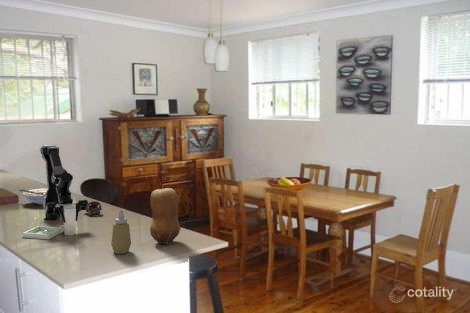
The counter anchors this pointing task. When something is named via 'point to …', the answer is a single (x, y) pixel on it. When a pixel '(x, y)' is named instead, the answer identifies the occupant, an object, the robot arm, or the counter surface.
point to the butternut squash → (164, 215)
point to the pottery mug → (93, 207)
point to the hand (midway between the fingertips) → (70, 221)
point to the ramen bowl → (35, 195)
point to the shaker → (70, 219)
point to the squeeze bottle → (121, 235)
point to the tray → (39, 230)
